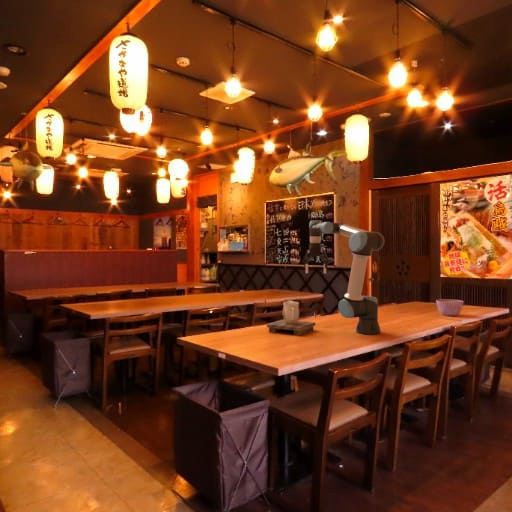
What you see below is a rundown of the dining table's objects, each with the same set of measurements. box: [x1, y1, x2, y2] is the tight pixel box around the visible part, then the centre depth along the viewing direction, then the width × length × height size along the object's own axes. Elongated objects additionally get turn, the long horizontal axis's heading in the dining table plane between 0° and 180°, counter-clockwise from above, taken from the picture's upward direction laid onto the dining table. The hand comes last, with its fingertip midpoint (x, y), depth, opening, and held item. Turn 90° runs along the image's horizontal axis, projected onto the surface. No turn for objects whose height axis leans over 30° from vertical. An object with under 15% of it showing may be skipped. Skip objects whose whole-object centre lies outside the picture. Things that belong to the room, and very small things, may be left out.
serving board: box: [266, 318, 316, 336], centre depth 278 cm, size 24×22×5 cm
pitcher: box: [282, 299, 300, 324], centre depth 278 cm, size 11×18×14 cm, turn 4°
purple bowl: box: [435, 298, 465, 317], centre depth 335 cm, size 20×20×12 cm
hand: (315, 273), depth 297 cm, fingers open, 13 cm apart
